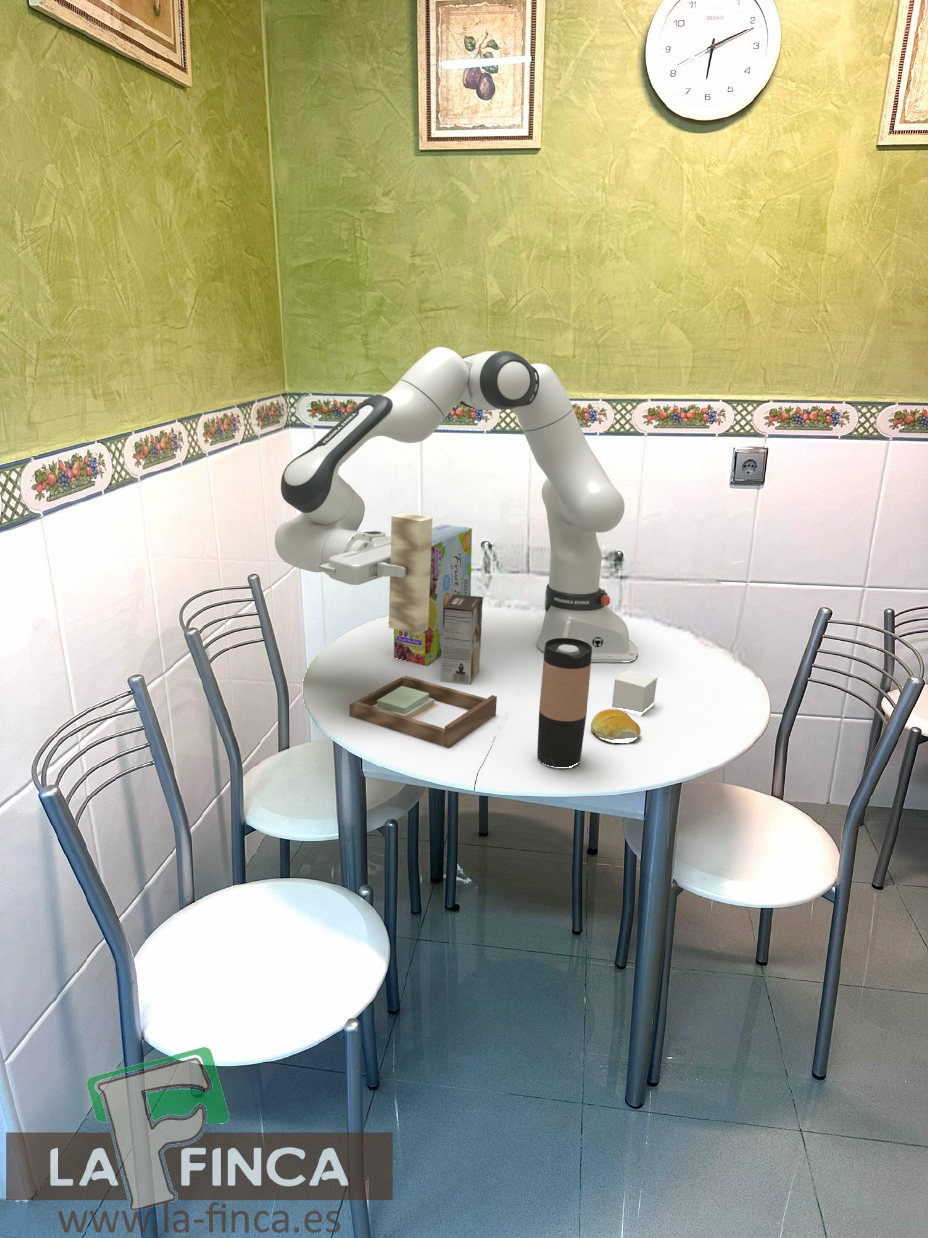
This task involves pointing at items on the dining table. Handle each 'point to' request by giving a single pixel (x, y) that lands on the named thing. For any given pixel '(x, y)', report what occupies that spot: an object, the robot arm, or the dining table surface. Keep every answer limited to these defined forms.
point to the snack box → (439, 592)
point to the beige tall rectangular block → (410, 573)
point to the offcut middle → (416, 710)
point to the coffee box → (461, 639)
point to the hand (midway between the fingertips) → (414, 569)
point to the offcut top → (403, 700)
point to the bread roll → (614, 725)
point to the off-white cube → (634, 691)
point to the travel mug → (563, 701)
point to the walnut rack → (446, 737)
